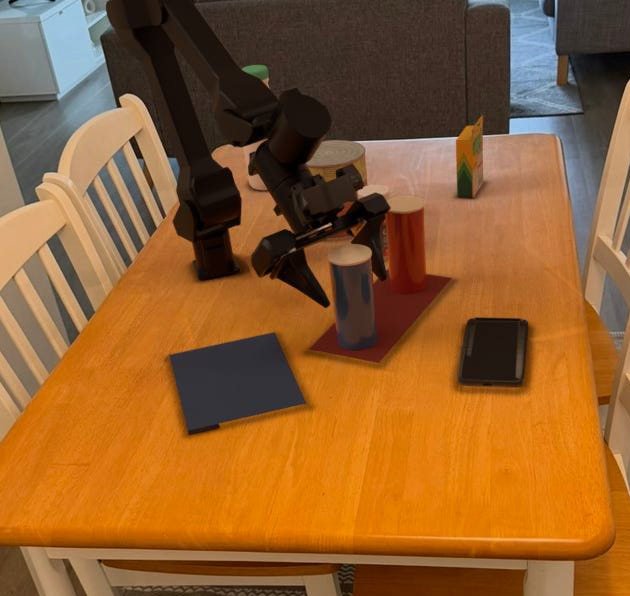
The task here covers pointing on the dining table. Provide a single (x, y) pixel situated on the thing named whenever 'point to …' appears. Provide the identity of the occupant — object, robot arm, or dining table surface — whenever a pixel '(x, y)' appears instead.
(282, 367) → the blue mat
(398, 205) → the red canister
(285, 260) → the robot arm
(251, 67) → the milk bottle
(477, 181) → the crayon box
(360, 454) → the dining table surface
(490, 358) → the phone
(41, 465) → the dining table surface
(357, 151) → the canned food
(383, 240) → the pill bottle
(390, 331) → the red mat
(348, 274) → the blue canister
